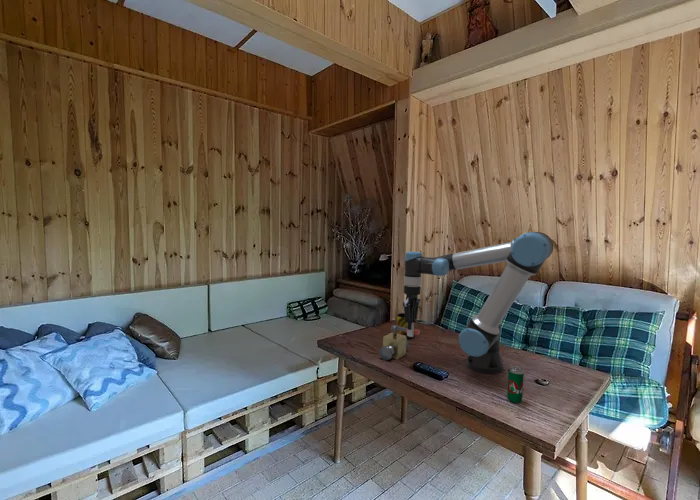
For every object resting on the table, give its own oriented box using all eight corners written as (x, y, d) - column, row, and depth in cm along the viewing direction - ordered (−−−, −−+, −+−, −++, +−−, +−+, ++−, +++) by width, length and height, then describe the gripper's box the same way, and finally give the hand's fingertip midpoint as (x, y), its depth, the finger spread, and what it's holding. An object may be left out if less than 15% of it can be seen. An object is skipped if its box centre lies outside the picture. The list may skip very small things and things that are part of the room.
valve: (396, 347, 174) (396, 330, 173) (410, 351, 169) (410, 333, 168) (377, 357, 160) (378, 339, 159) (392, 362, 155) (392, 343, 154)
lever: (389, 336, 163) (390, 326, 163) (393, 333, 166) (393, 324, 166) (417, 341, 156) (417, 331, 155) (420, 339, 159) (420, 329, 158)
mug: (400, 330, 200) (401, 310, 198) (417, 337, 188) (418, 316, 187) (388, 333, 194) (388, 313, 193) (405, 341, 183) (405, 319, 182)
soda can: (517, 396, 126) (519, 365, 125) (525, 404, 121) (527, 371, 120) (504, 396, 126) (505, 365, 125) (511, 404, 121) (512, 371, 120)
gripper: (411, 282, 163) (409, 331, 165) (398, 286, 153) (396, 337, 154) (425, 284, 159) (423, 334, 160) (413, 288, 148) (411, 341, 150)
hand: (410, 336), depth 157 cm, fingers closed
